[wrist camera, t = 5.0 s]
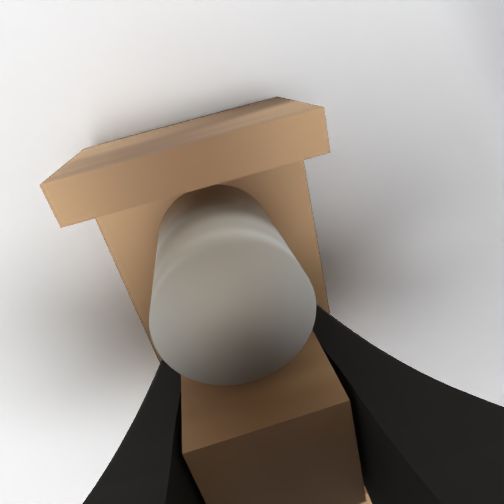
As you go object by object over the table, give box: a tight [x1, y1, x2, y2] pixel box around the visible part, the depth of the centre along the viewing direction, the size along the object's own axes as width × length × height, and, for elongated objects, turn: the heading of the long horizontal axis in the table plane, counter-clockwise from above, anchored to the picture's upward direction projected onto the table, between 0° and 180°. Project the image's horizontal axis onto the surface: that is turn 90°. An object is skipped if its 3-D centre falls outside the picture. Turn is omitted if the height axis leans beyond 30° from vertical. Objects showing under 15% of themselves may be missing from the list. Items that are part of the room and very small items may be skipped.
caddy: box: [40, 97, 372, 504], centre depth 10 cm, size 5×12×6 cm, turn 13°
